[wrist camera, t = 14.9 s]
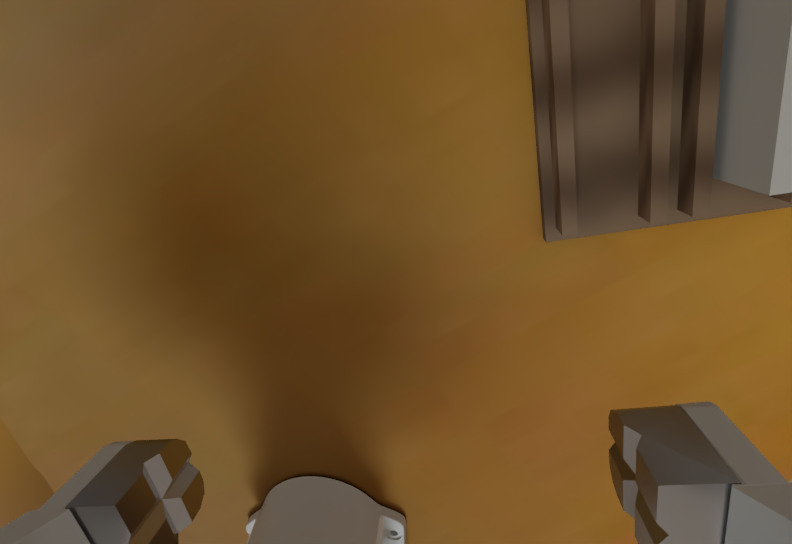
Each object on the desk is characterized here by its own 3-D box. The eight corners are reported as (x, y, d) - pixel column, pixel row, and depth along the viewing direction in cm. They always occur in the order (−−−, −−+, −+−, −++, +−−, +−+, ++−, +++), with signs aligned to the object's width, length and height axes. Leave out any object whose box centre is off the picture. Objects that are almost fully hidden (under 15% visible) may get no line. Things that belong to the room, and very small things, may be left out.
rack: (785, 202, 29) (820, 214, 26) (543, 237, 32) (551, 251, 29) (840, -177, 21) (897, -217, 19) (519, -83, 24) (527, -106, 22)
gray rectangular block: (757, 167, 27) (835, 185, 22) (706, 175, 28) (769, 195, 22) (788, -98, 22) (900, -163, 16) (724, -82, 22) (812, -138, 17)
